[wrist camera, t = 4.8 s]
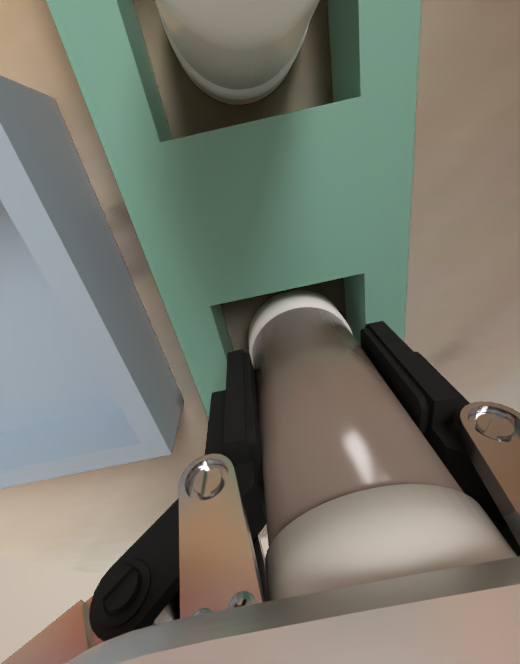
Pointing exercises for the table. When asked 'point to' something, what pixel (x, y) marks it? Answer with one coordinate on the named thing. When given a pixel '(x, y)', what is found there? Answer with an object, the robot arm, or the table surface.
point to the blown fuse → (348, 463)
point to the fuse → (236, 43)
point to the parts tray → (68, 315)
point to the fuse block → (261, 175)
